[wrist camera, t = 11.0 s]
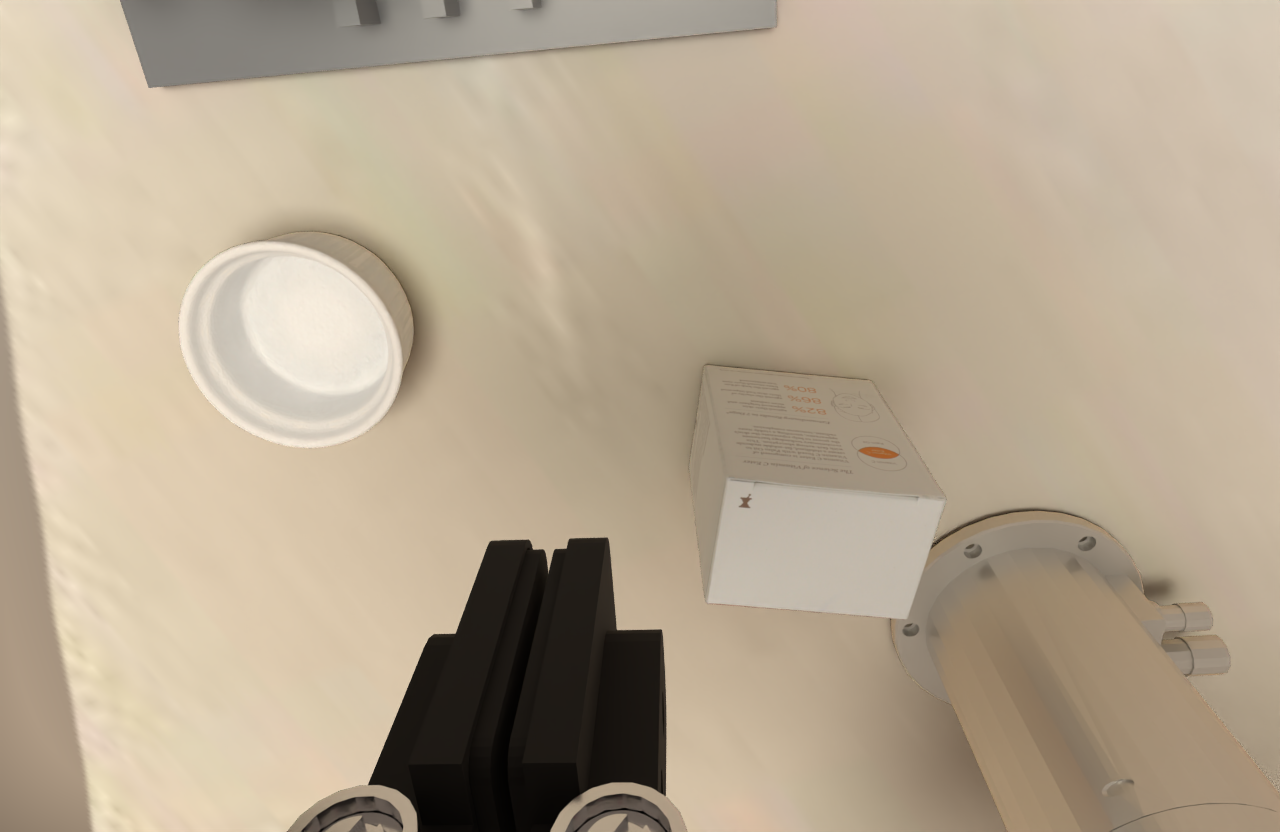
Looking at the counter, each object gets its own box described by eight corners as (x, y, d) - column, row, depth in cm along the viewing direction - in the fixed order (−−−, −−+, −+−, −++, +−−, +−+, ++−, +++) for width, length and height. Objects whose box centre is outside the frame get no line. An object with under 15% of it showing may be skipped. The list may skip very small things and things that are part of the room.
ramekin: (240, 187, 34) (187, 210, 30) (447, 256, 36) (422, 286, 32) (216, 371, 38) (167, 413, 34) (404, 428, 39) (377, 474, 35)
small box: (686, 465, 40) (698, 607, 30) (702, 359, 37) (721, 477, 28) (849, 481, 40) (910, 626, 31) (875, 377, 38) (951, 500, 28)
